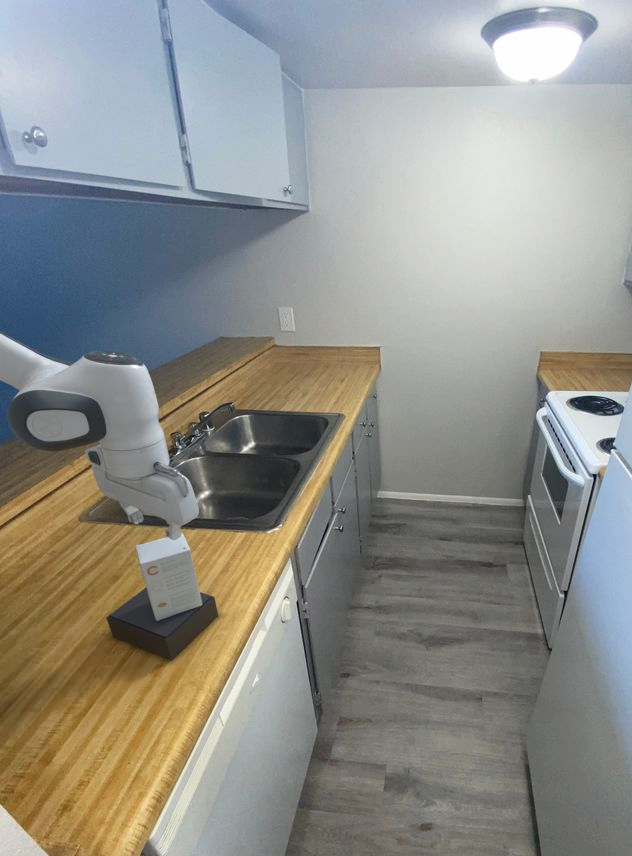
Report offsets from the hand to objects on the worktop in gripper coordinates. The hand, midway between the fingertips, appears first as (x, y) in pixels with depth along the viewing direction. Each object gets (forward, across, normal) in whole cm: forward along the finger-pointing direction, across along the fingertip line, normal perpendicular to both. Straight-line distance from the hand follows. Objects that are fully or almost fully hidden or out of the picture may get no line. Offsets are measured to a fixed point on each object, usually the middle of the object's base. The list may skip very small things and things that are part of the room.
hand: (155, 529), depth 81 cm
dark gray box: (+22, +2, +1) cm, 22 cm away
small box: (+17, 0, 0) cm, 17 cm away
